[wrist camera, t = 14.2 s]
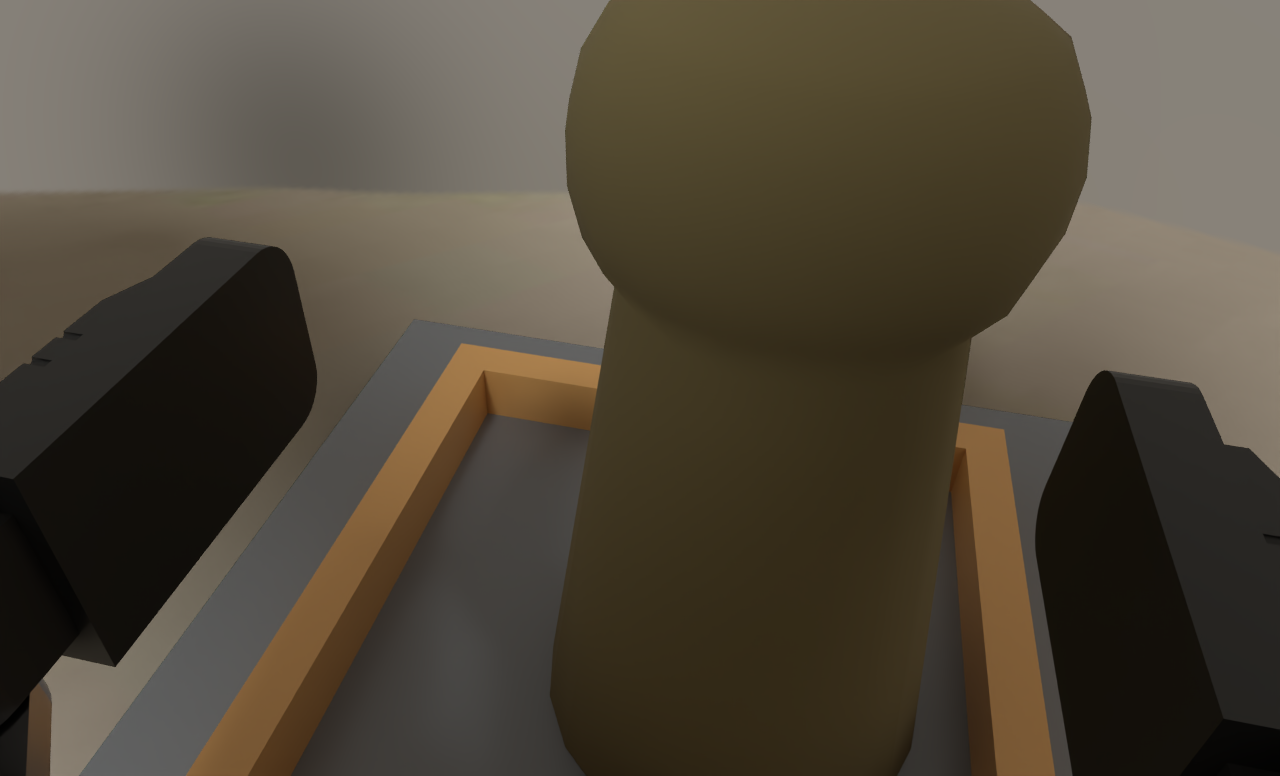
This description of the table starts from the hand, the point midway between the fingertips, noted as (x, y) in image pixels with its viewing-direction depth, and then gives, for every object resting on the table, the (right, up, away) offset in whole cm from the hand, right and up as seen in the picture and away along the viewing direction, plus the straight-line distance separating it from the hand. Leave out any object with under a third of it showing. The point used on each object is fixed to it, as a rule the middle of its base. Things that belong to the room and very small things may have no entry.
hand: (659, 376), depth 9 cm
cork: (+1, -5, +6) cm, 8 cm away
